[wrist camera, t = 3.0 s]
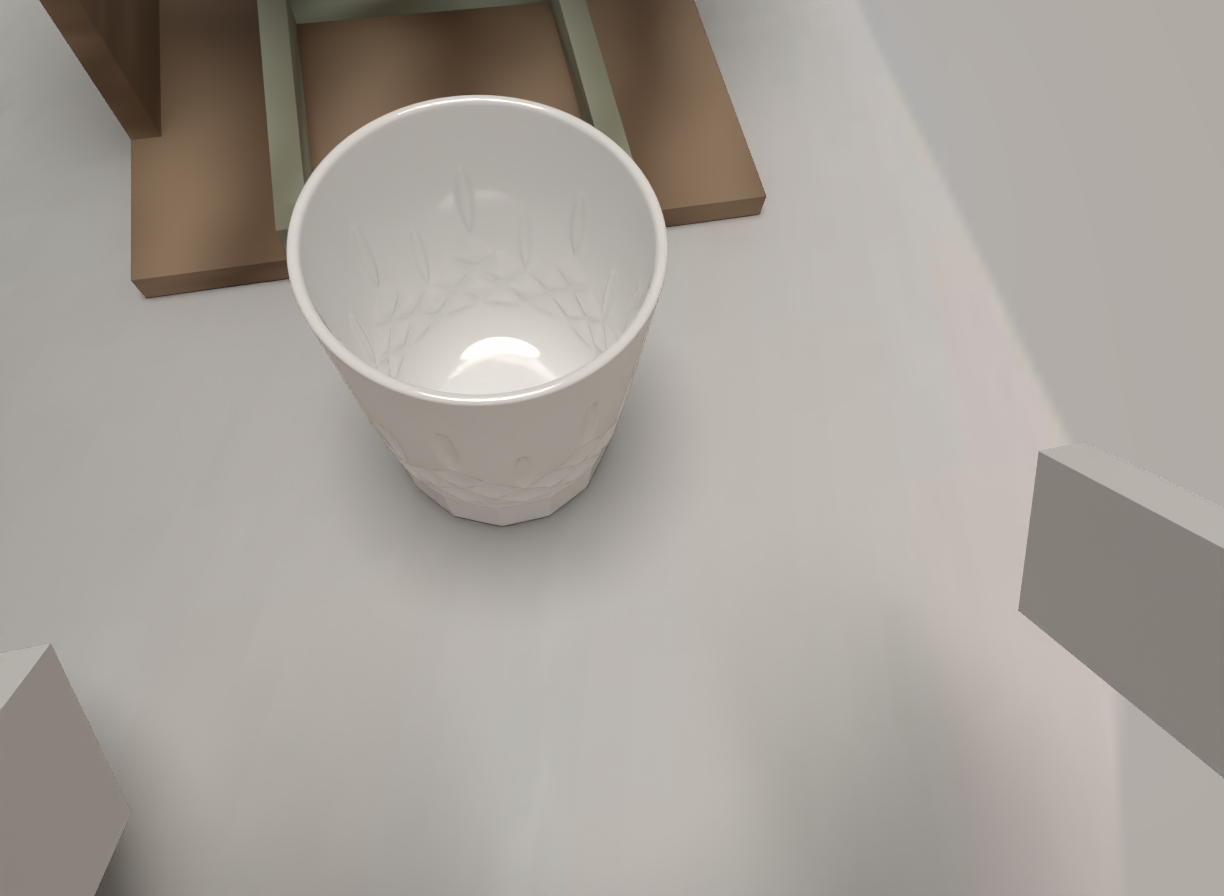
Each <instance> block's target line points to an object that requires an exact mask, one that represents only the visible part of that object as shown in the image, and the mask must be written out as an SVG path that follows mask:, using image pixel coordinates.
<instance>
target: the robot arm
mask: <svg viewBox="0 0 1224 896" xmlns="http://www.w3.org/2000/svg"><path fill="white" fill-rule="evenodd" d="M1018 611H1020V612H1021V613H1022V614H1023V615H1025V616H1026V617H1027V618H1028V619H1029V620H1031V621H1032V622H1033V623H1034V624H1036V625H1037V626H1038V627H1039V628H1040V629H1042V630H1043V631H1044V632H1045V633H1047V634H1048V635H1049V636H1050V637H1051V638H1053V639H1054V640H1055V641H1056V642H1058V643H1059V644H1060V645H1061V646H1062V647H1064V648H1065V649H1066V650H1067V651H1069V652H1070V653H1071V654H1072V655H1074V656H1075V657H1076V658H1077V659H1078V660H1080V661H1081V662H1082V663H1083V664H1085V665H1086V666H1087V667H1088V668H1089V669H1091V670H1092V671H1093V672H1094V673H1096V674H1097V675H1098V676H1099V677H1100V678H1102V679H1103V680H1104V681H1105V682H1107V683H1108V684H1109V685H1110V686H1111V687H1113V688H1114V689H1115V690H1116V691H1118V692H1119V693H1120V694H1121V695H1122V696H1124V697H1125V698H1126V699H1127V700H1129V701H1130V702H1131V703H1132V704H1134V705H1135V706H1136V707H1137V708H1138V709H1140V710H1141V711H1142V712H1143V713H1145V714H1146V715H1147V716H1148V717H1149V718H1151V719H1152V720H1153V721H1154V722H1156V723H1157V724H1158V725H1159V726H1160V727H1162V728H1163V729H1164V730H1165V731H1167V732H1168V733H1169V734H1170V735H1172V736H1173V737H1174V738H1175V739H1176V740H1178V741H1179V742H1180V743H1181V744H1182V745H1184V746H1185V747H1186V748H1187V749H1189V750H1190V751H1191V752H1192V753H1193V754H1195V755H1196V756H1197V757H1199V758H1200V759H1201V760H1202V761H1203V762H1204V763H1206V764H1207V765H1208V766H1209V767H1211V768H1212V769H1213V770H1214V771H1215V772H1217V773H1218V774H1219V775H1220V776H1222V777H1223V778H1224V508H1223V507H1221V506H1219V505H1217V504H1214V503H1212V502H1211V501H1208V500H1206V499H1204V498H1202V497H1200V496H1198V495H1196V494H1194V493H1192V492H1190V491H1187V490H1185V489H1183V488H1181V487H1179V486H1177V485H1175V484H1173V483H1171V482H1168V481H1166V480H1164V479H1162V478H1160V477H1158V476H1156V475H1154V474H1151V473H1150V472H1147V471H1145V470H1143V469H1141V468H1139V467H1137V466H1135V465H1133V464H1131V463H1128V462H1126V461H1124V460H1122V459H1120V458H1118V457H1116V456H1114V455H1111V454H1109V453H1107V452H1105V451H1103V450H1101V449H1099V448H1097V447H1095V446H1092V445H1090V444H1088V443H1086V442H1085V443H1079V444H1074V445H1069V446H1064V447H1058V448H1053V449H1048V450H1043V451H1039V454H1038V462H1037V470H1036V477H1035V485H1034V493H1033V501H1032V508H1031V516H1030V524H1029V532H1028V539H1027V547H1026V555H1025V563H1024V571H1023V578H1022V586H1021V594H1020V602H1019V609H1018ZM130 815H131V812H130V809H129V807H128V805H127V803H126V801H125V799H124V797H123V795H122V793H121V790H120V788H119V786H118V784H117V782H116V780H115V778H114V776H113V773H112V771H111V769H110V767H109V765H108V763H107V761H106V759H105V757H104V754H103V752H102V750H101V748H100V746H99V744H98V742H97V740H96V738H95V735H94V733H93V731H92V729H91V727H90V725H89V723H88V721H87V719H86V716H85V714H84V712H83V710H82V708H81V706H80V704H79V702H78V700H77V697H76V695H75V693H74V691H73V689H72V687H71V685H70V683H69V680H68V678H67V676H66V674H65V672H64V670H63V668H62V666H61V664H60V661H59V659H58V657H57V655H56V653H55V651H54V649H53V647H52V645H51V643H50V644H45V645H39V646H34V647H29V648H24V649H19V650H14V651H9V652H3V653H0V896H95V893H96V891H97V889H98V887H99V884H100V882H101V880H102V878H103V875H104V873H105V871H106V869H107V866H108V864H109V862H110V860H111V857H112V855H113V853H114V851H115V849H116V846H117V844H118V842H119V840H120V837H121V835H122V833H123V831H124V828H125V826H126V824H127V822H128V819H129V817H130Z"/></svg>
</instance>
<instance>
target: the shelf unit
mask: <svg viewBox="0 0 1224 896" xmlns="http://www.w3.org/2000/svg"><path fill="white" fill-rule="evenodd" d="M40 2H41V3H42V5H43V6H44V8H45V9H46V11H47V12H48V14H49V16H50V17H51V19H52V20H53V22H54V23H55V25H56V26H57V28H58V29H59V31H60V32H61V34H62V35H63V37H64V38H65V40H66V41H67V43H68V44H69V46H70V47H71V49H72V50H73V52H74V53H75V55H76V57H77V58H78V60H79V61H80V63H81V64H82V66H83V67H84V69H85V70H86V72H87V73H88V75H89V76H90V78H91V79H92V81H93V82H94V84H95V85H96V87H97V88H98V90H99V91H100V93H101V94H102V96H103V98H104V99H105V101H106V102H107V104H108V105H109V107H110V108H111V110H112V111H113V113H114V114H115V116H116V117H117V119H118V120H119V122H120V123H121V125H122V126H123V128H124V129H125V131H126V132H127V134H128V135H129V137H130V139H131V281H132V282H133V283H134V284H135V286H136V287H137V288H138V289H139V290H140V292H141V293H142V294H143V295H144V296H145V297H146V298H148V297H155V296H162V295H170V294H177V293H184V292H192V291H199V290H206V289H214V288H221V287H228V286H236V285H243V284H250V283H258V282H265V281H272V280H280V279H287V278H289V274H288V267H287V254H286V248H287V235H288V228H289V223H290V219H291V216H292V212H293V209H294V206H295V204H296V201H297V199H298V197H299V195H300V192H301V191H302V189H303V187H304V185H305V183H306V182H307V180H308V179H309V177H310V176H311V174H312V173H313V171H314V170H315V169H316V167H317V166H318V165H319V164H320V162H321V161H322V160H323V159H324V158H325V157H326V156H327V155H328V154H329V153H330V152H331V151H332V150H333V149H334V148H335V147H336V146H337V145H338V144H339V143H340V142H342V141H343V140H344V139H345V138H347V137H348V136H349V135H351V134H352V133H353V132H355V131H356V130H358V129H359V128H361V127H363V126H364V125H366V124H368V123H369V122H371V121H373V120H375V119H377V118H379V117H381V116H383V115H385V114H387V113H390V112H392V111H395V110H397V109H400V108H403V107H406V106H409V105H412V104H415V103H419V102H423V101H427V100H432V99H437V98H443V97H450V96H461V95H496V96H506V97H513V98H519V99H524V100H529V101H533V102H537V103H541V104H544V105H547V106H550V107H553V108H556V109H559V110H561V111H564V112H566V113H569V114H571V115H573V116H575V117H577V118H579V119H581V120H583V121H585V122H586V123H588V124H590V125H592V126H593V127H595V128H596V129H598V130H599V131H601V132H602V133H604V134H605V135H606V136H608V137H609V138H610V139H611V140H613V141H614V142H615V143H616V144H617V145H619V146H620V147H621V148H622V149H623V150H624V151H625V152H626V153H627V154H628V155H629V156H630V157H631V158H632V160H633V161H634V162H635V163H636V164H637V166H638V167H639V168H640V169H641V171H642V172H643V174H644V175H645V177H646V178H647V180H648V181H649V183H650V185H651V187H652V189H653V191H654V193H655V195H656V197H657V199H658V202H659V204H660V207H661V210H662V213H663V217H664V221H665V226H666V227H668V226H675V225H682V224H690V223H697V222H704V221H712V220H719V219H726V218H734V217H741V216H748V215H756V214H760V211H761V209H762V206H763V204H764V201H765V198H766V194H765V191H764V188H763V186H762V183H761V180H760V178H759V175H758V172H757V170H756V167H755V164H754V161H753V159H752V156H751V153H750V151H749V148H748V145H747V143H746V140H745V137H744V134H743V132H742V129H741V126H740V124H739V121H738V118H737V116H736V113H735V110H734V108H733V105H732V102H731V99H730V97H729V94H728V91H727V89H726V86H725V83H724V81H723V78H722V75H721V72H720V70H719V67H718V64H717V62H716V59H715V56H714V54H713V51H712V48H711V45H710V43H709V40H708V37H707V35H706V32H705V29H704V27H703V24H702V21H701V18H700V16H699V13H698V10H697V8H696V5H695V2H694V0H40Z"/></svg>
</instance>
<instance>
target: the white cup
mask: <svg viewBox="0 0 1224 896" xmlns="http://www.w3.org/2000/svg"><path fill="white" fill-rule="evenodd" d="M286 254H287V267H288V274H289V279H290V283H291V287H292V290H293V293H294V296H295V299H296V301H297V303H298V306H299V308H300V310H301V312H302V314H303V316H304V317H305V319H306V321H307V322H308V324H309V326H310V327H311V329H312V330H313V332H314V333H315V335H316V337H317V338H318V340H319V341H320V343H321V344H322V346H323V348H324V349H325V351H326V352H327V354H328V355H329V357H330V359H331V360H332V362H333V363H334V365H335V367H336V368H337V370H338V371H339V373H340V375H341V376H342V378H343V380H344V381H345V383H346V384H347V386H348V388H349V389H350V391H351V392H352V394H353V396H354V397H355V399H356V400H357V402H358V404H359V405H360V407H361V408H362V410H363V411H364V413H365V414H366V416H367V417H368V419H369V420H370V422H371V423H372V425H373V426H374V427H375V429H376V430H377V431H378V433H379V434H380V436H381V437H382V439H383V440H384V442H385V443H386V445H387V446H388V448H389V449H390V451H391V452H392V453H393V454H394V455H395V457H396V458H397V459H398V460H399V461H400V462H401V463H402V465H403V466H404V467H405V468H406V469H407V471H408V473H409V474H410V476H411V478H412V480H413V481H414V483H415V485H416V486H417V487H418V488H419V489H420V490H422V491H423V492H424V493H425V494H427V495H428V496H429V497H431V498H432V499H433V500H434V501H436V502H437V503H438V504H439V505H441V506H442V507H443V508H445V509H446V510H447V511H448V512H450V513H451V514H452V515H454V516H457V517H461V518H466V519H471V520H475V521H480V522H484V523H489V524H494V525H498V526H505V525H510V524H514V523H519V522H523V521H528V520H533V519H537V518H542V517H546V516H550V515H551V514H552V513H554V512H555V511H556V510H558V509H559V508H560V507H562V506H563V505H564V504H566V503H567V502H568V501H570V500H571V499H572V498H574V497H575V496H576V495H577V494H579V493H580V492H581V491H583V490H584V489H585V488H586V487H587V486H588V484H589V482H590V480H591V478H592V476H593V474H594V472H595V470H596V468H597V466H598V464H599V462H600V460H601V458H602V456H603V454H604V452H605V450H606V448H607V445H608V442H609V441H610V439H611V437H612V435H613V432H614V430H615V427H616V425H617V422H618V419H619V417H620V414H621V411H622V409H623V406H624V404H625V401H626V398H627V396H628V393H629V390H630V387H631V383H632V380H633V377H634V374H635V371H636V367H637V364H638V361H639V358H640V355H641V351H642V348H643V345H644V342H645V339H646V336H647V332H648V329H649V326H650V323H651V320H652V317H653V314H654V311H655V308H656V305H657V302H658V299H659V296H660V293H661V290H662V287H663V283H664V279H665V274H666V268H667V259H668V241H667V232H666V226H665V221H664V217H663V213H662V210H661V207H660V204H659V202H658V199H657V197H656V195H655V193H654V191H653V189H652V187H651V185H650V183H649V181H648V180H647V178H646V177H645V175H644V174H643V172H642V171H641V169H640V168H639V167H638V166H637V164H636V163H635V162H634V161H633V160H632V158H631V157H630V156H629V155H628V154H627V153H626V152H625V151H624V150H623V149H622V148H621V147H620V146H619V145H617V144H616V143H615V142H614V141H613V140H611V139H610V138H609V137H608V136H606V135H605V134H604V133H602V132H601V131H599V130H598V129H596V128H595V127H593V126H592V125H590V124H588V123H586V122H585V121H583V120H581V119H579V118H577V117H575V116H573V115H571V114H569V113H566V112H564V111H561V110H559V109H556V108H553V107H550V106H547V105H544V104H541V103H537V102H533V101H529V100H524V99H519V98H513V97H506V96H496V95H461V96H450V97H443V98H437V99H432V100H427V101H423V102H419V103H415V104H412V105H409V106H406V107H403V108H400V109H397V110H395V111H392V112H390V113H387V114H385V115H383V116H381V117H379V118H377V119H375V120H373V121H371V122H369V123H368V124H366V125H364V126H363V127H361V128H359V129H358V130H356V131H355V132H353V133H352V134H351V135H349V136H348V137H347V138H345V139H344V140H343V141H342V142H340V143H339V144H338V145H337V146H336V147H335V148H334V149H333V150H332V151H331V152H330V153H329V154H328V155H327V156H326V157H325V158H324V159H323V160H322V161H321V162H320V164H319V165H318V166H317V167H316V169H315V170H314V171H313V173H312V174H311V176H310V177H309V179H308V180H307V182H306V183H305V185H304V187H303V189H302V191H301V192H300V195H299V197H298V199H297V201H296V204H295V206H294V209H293V212H292V216H291V219H290V223H289V228H288V235H287V248H286Z"/></svg>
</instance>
